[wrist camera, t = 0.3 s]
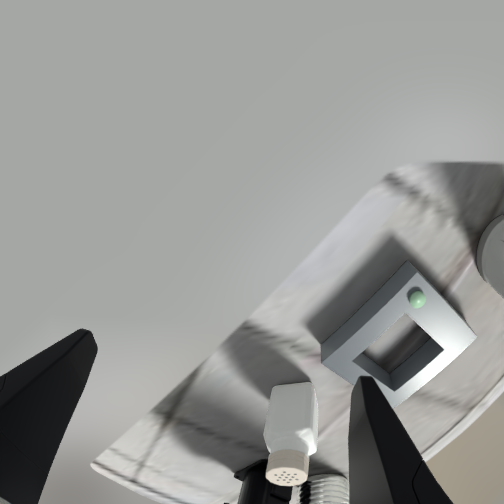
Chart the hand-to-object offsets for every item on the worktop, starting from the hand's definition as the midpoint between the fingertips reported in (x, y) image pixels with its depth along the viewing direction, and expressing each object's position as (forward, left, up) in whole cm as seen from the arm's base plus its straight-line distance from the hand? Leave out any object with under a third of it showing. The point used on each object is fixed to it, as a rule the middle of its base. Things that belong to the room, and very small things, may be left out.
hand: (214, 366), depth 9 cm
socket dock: (0, -14, -15) cm, 20 cm away
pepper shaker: (-11, -12, -15) cm, 22 cm away
